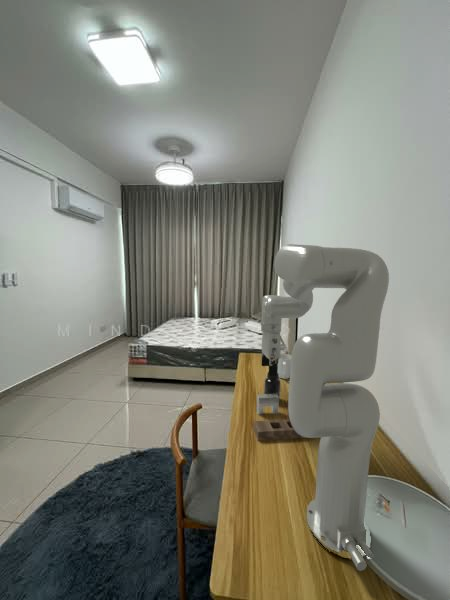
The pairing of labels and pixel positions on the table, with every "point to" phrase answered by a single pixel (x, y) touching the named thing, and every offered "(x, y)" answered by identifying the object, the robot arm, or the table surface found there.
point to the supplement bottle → (272, 385)
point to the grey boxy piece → (267, 402)
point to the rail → (275, 430)
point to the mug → (284, 366)
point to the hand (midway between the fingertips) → (268, 370)
